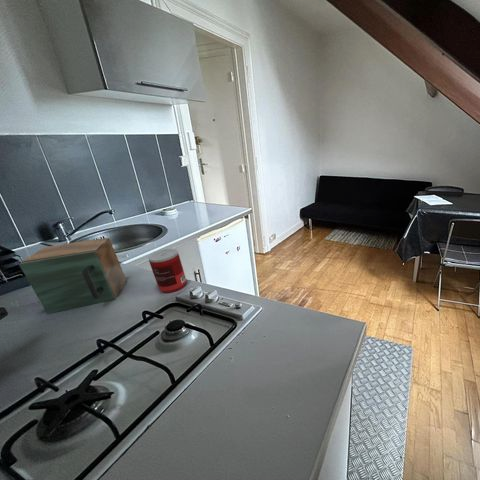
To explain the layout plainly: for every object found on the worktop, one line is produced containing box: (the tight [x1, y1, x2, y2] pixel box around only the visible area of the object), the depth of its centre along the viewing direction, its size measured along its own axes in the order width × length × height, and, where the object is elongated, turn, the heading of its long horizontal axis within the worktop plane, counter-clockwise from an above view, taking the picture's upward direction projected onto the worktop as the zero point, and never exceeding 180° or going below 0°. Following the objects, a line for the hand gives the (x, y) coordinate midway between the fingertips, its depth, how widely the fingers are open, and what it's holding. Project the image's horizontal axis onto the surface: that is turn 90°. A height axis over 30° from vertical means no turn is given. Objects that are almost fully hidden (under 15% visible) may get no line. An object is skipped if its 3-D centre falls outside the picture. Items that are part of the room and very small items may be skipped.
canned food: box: [148, 248, 187, 294], centre depth 78 cm, size 8×8×11 cm
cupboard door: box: [18, 251, 116, 315], centre depth 68 cm, size 5×16×15 cm, turn 110°
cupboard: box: [21, 237, 128, 299], centre depth 75 cm, size 10×16×16 cm, turn 109°
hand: (2, 310), depth 55 cm, fingers closed
